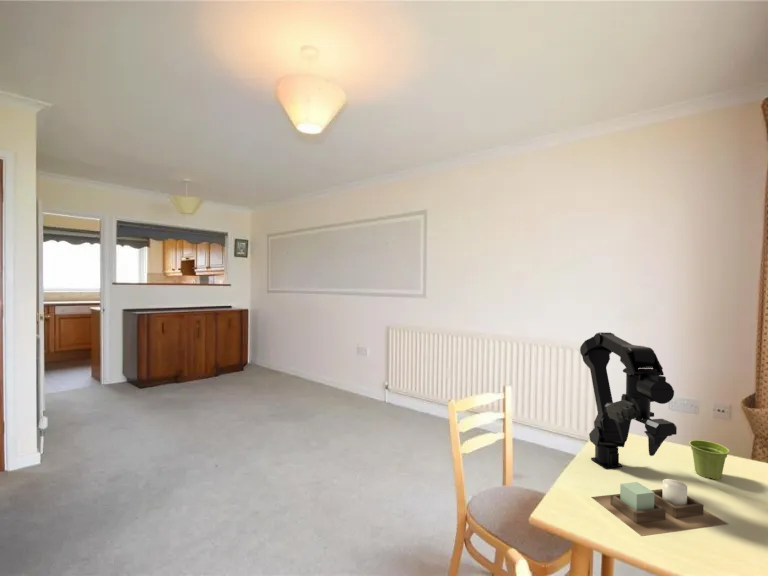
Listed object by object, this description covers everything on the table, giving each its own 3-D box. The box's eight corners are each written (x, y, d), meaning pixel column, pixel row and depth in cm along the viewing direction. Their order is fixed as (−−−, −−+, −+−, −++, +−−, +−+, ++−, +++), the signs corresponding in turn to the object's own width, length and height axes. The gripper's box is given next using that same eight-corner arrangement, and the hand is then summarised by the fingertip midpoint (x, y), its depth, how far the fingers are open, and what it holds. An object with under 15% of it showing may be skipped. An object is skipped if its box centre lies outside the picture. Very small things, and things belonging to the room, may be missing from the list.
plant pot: (737, 480, 114) (737, 450, 114) (714, 484, 112) (714, 454, 111) (702, 465, 123) (703, 438, 123) (681, 469, 121) (681, 441, 120)
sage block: (637, 505, 100) (637, 481, 99) (653, 516, 95) (654, 492, 95) (620, 507, 99) (620, 483, 99) (636, 519, 94) (636, 494, 94)
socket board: (591, 500, 103) (591, 487, 103) (667, 491, 108) (667, 479, 108) (641, 540, 88) (641, 524, 87) (728, 528, 92) (728, 513, 92)
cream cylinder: (657, 502, 101) (657, 479, 100) (673, 500, 102) (673, 478, 101) (675, 514, 96) (675, 490, 96) (692, 512, 97) (692, 488, 96)
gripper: (588, 384, 115) (588, 437, 116) (641, 404, 97) (640, 466, 97) (621, 383, 117) (620, 434, 118) (678, 402, 99) (677, 462, 99)
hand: (637, 448), depth 108 cm, fingers open, 9 cm apart
